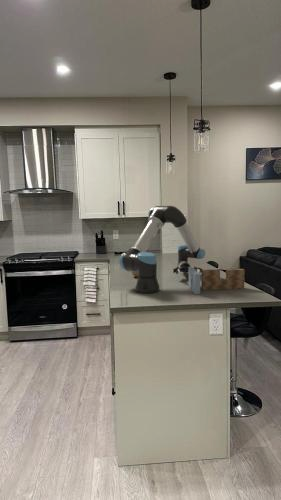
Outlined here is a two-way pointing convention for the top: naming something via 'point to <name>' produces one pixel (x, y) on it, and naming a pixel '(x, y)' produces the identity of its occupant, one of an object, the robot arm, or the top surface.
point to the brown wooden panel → (231, 282)
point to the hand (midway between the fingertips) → (189, 272)
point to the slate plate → (194, 280)
